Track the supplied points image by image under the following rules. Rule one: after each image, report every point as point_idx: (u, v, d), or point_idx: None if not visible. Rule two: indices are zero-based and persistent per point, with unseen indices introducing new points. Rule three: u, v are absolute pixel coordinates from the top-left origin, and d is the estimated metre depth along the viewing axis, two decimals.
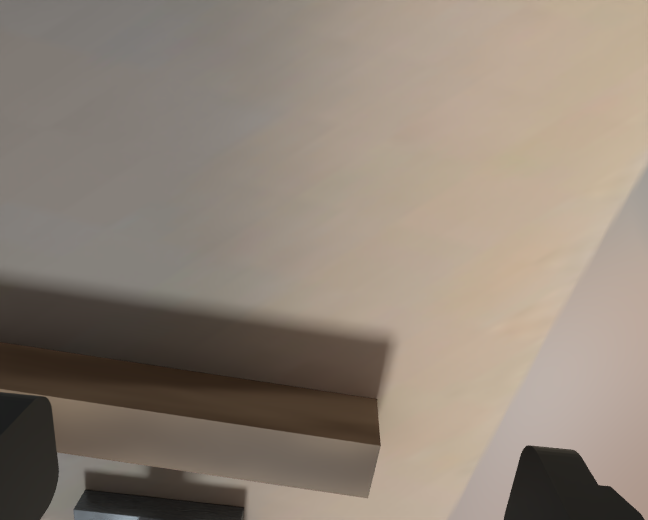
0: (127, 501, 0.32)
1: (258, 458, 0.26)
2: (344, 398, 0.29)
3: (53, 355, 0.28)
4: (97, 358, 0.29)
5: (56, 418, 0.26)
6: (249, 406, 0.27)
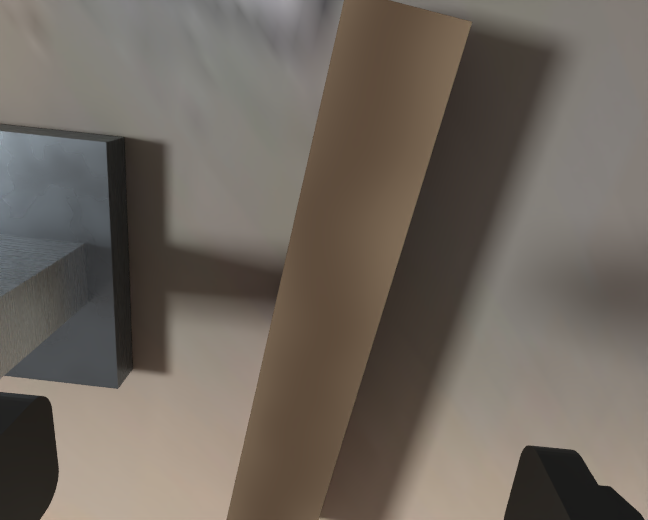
0: (121, 214, 0.20)
1: (280, 466, 0.20)
2: None
3: None
4: None
5: (367, 214, 0.16)
6: None
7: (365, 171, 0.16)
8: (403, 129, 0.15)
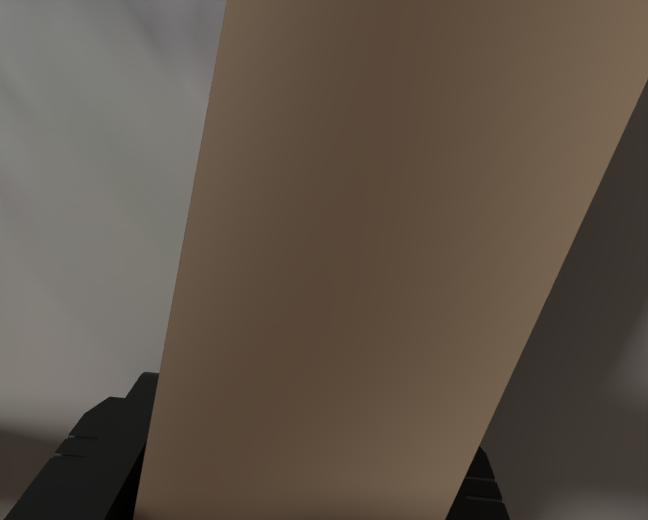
0: None
1: None
2: None
3: None
4: None
5: (336, 481, 0.06)
6: None
7: (331, 377, 0.05)
8: (448, 271, 0.05)
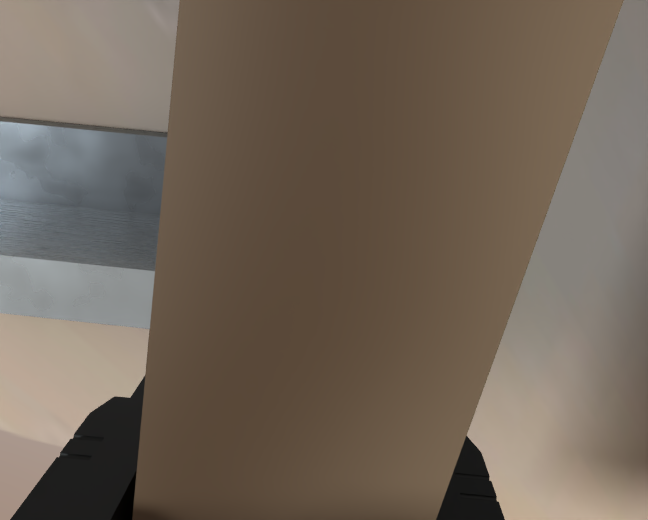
0: None
1: None
2: None
3: None
4: None
5: (330, 472, 0.06)
6: None
7: (315, 370, 0.05)
8: (422, 256, 0.05)
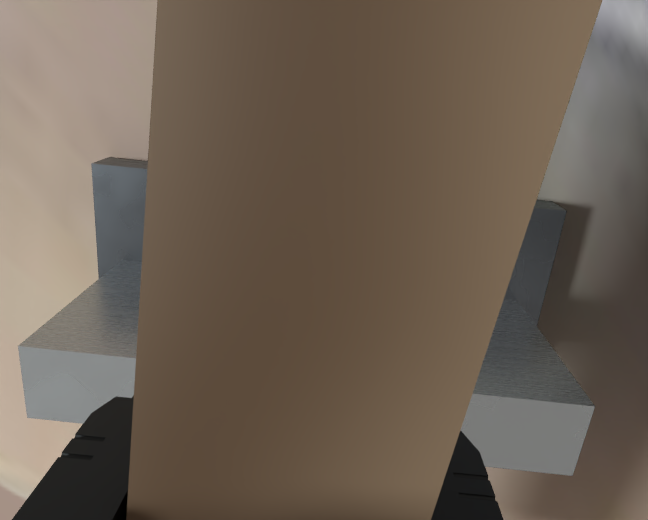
0: None
1: None
2: None
3: None
4: None
5: (324, 470, 0.06)
6: None
7: (305, 365, 0.05)
8: (410, 249, 0.05)
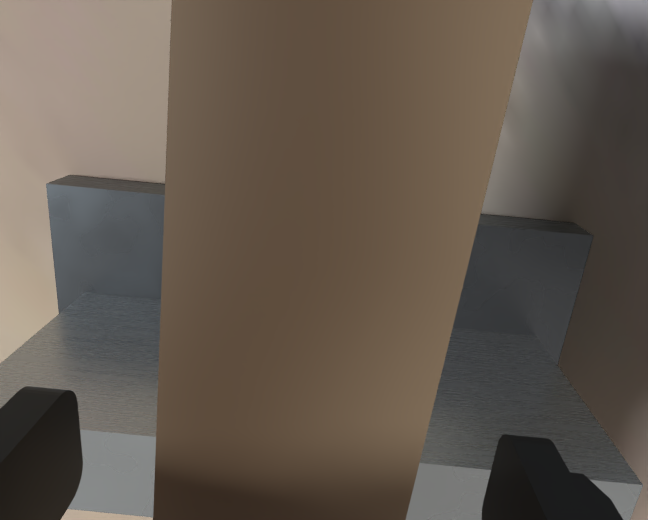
0: None
1: None
2: None
3: None
4: None
5: (326, 406, 0.07)
6: None
7: (306, 311, 0.06)
8: (390, 202, 0.06)
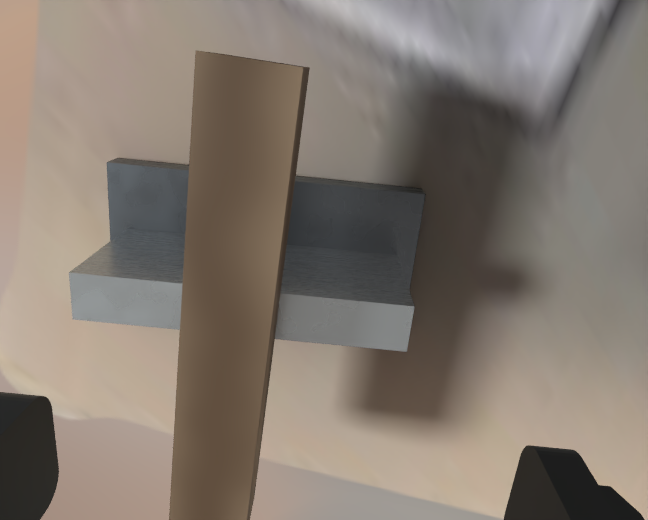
0: None
1: (209, 455, 0.22)
2: (255, 478, 0.27)
3: (294, 172, 0.21)
4: (288, 223, 0.22)
5: (245, 233, 0.19)
6: (261, 422, 0.23)
7: (236, 196, 0.18)
8: (262, 159, 0.18)
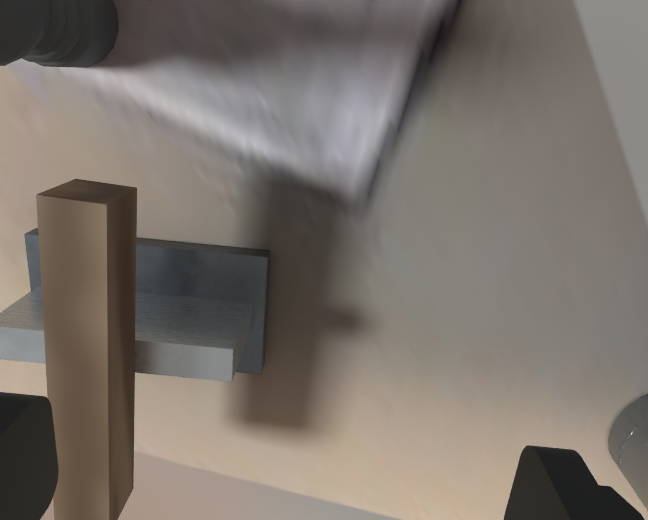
0: (267, 287, 0.40)
1: (76, 458, 0.31)
2: (129, 475, 0.36)
3: (131, 259, 0.30)
4: (132, 292, 0.31)
5: (82, 307, 0.28)
6: (118, 434, 0.32)
7: (74, 284, 0.27)
8: (87, 261, 0.27)
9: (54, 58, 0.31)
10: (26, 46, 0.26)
